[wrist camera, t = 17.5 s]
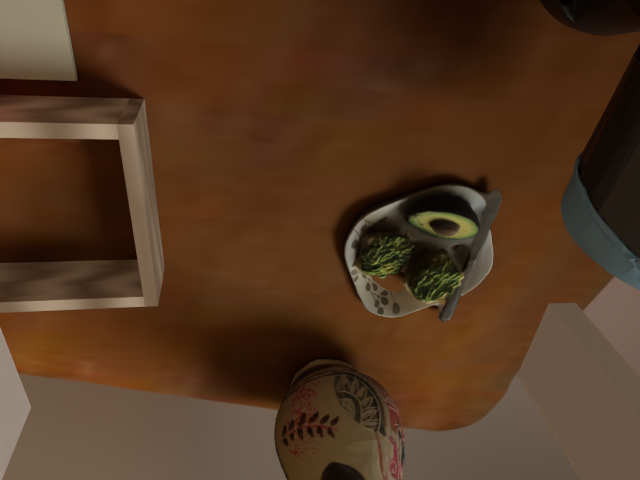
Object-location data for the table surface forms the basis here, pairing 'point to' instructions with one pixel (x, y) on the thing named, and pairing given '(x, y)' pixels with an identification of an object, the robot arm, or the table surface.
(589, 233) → the robot arm
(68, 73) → the mat
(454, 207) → the salad plate
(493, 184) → the table surface
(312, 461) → the ceramic jug
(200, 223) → the table surface
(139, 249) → the frame
